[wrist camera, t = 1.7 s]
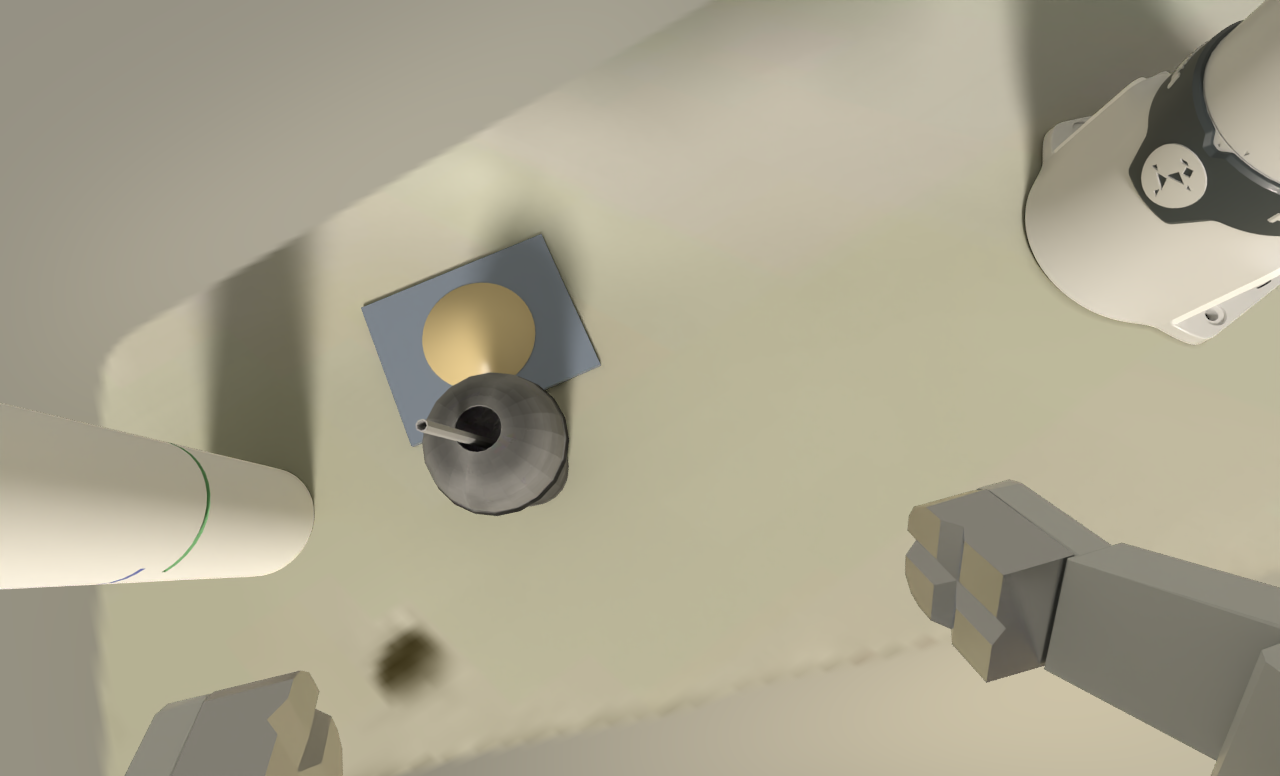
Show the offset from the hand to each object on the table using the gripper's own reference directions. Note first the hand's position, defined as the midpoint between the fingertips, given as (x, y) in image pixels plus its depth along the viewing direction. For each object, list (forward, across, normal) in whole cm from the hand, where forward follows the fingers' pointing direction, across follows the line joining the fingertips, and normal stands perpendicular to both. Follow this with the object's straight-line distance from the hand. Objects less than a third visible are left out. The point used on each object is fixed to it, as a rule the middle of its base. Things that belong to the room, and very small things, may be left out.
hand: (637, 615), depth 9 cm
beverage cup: (+32, +1, +17) cm, 37 cm away
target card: (+39, +3, +9) cm, 40 cm away
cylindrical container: (+35, +20, +18) cm, 44 cm away
